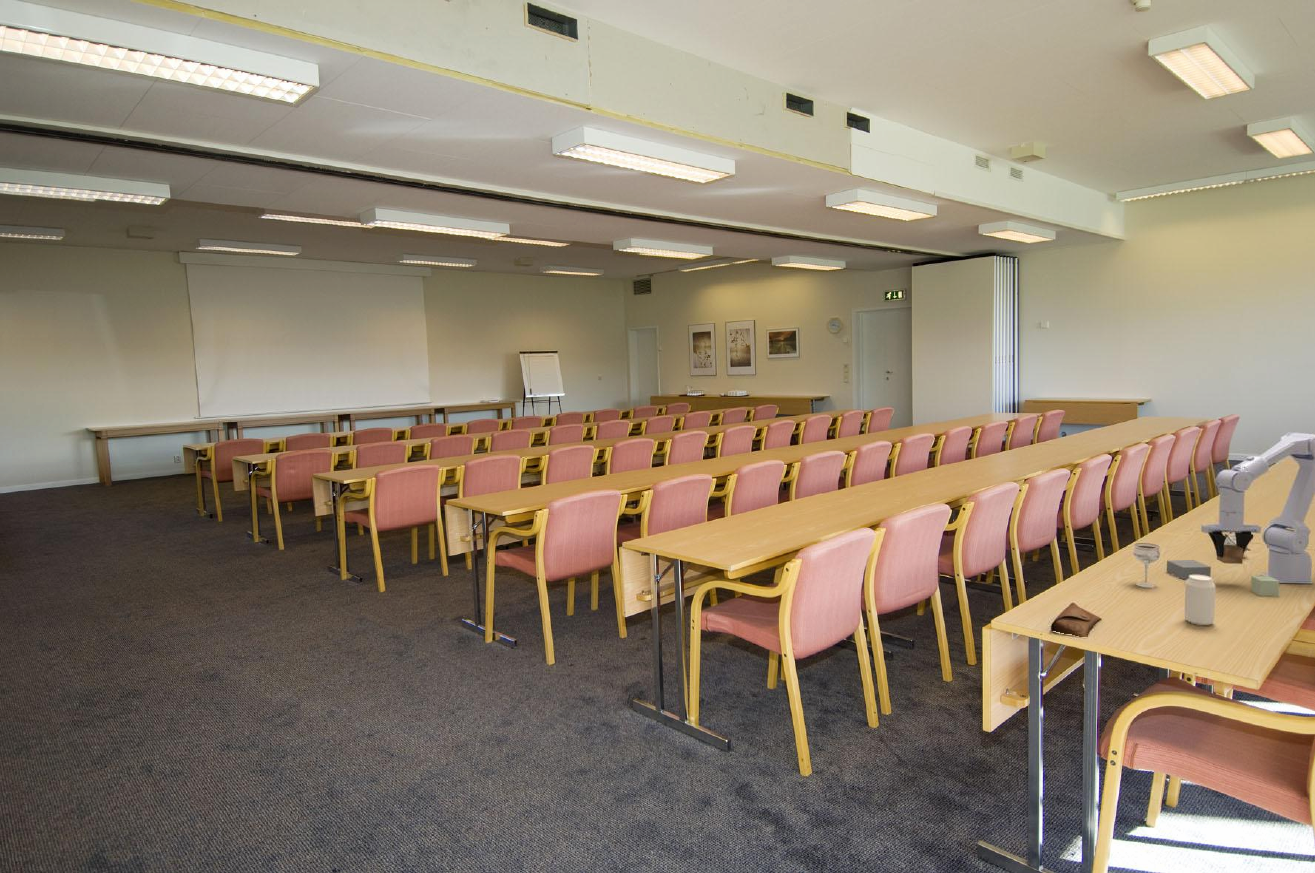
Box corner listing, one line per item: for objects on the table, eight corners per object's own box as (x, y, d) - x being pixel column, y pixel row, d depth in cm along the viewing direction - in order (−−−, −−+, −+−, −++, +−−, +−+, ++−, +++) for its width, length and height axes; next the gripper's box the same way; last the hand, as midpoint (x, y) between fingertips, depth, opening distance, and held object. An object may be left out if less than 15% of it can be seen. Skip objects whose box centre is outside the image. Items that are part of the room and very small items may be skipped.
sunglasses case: (1088, 639, 187) (1073, 613, 188) (1060, 647, 191) (1046, 623, 192) (1103, 618, 200) (1089, 595, 202) (1077, 626, 204) (1063, 604, 206)
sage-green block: (1268, 591, 216) (1269, 576, 215) (1278, 596, 212) (1279, 580, 211) (1251, 591, 217) (1251, 575, 216) (1260, 596, 212) (1260, 580, 212)
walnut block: (1233, 559, 224) (1234, 544, 224) (1242, 563, 220) (1243, 548, 219) (1216, 559, 225) (1217, 544, 225) (1224, 563, 221) (1225, 548, 220)
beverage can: (1181, 623, 195) (1183, 577, 193) (1187, 616, 199) (1188, 572, 198) (1211, 628, 190) (1212, 582, 189) (1216, 621, 194) (1217, 576, 193)
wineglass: (1135, 587, 224) (1136, 547, 223) (1130, 580, 230) (1131, 542, 229) (1161, 589, 221) (1163, 549, 220) (1156, 582, 228) (1157, 543, 226)
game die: (1229, 568, 250) (1213, 546, 249) (1222, 553, 257) (1206, 531, 256) (1259, 558, 245) (1244, 535, 244) (1251, 543, 252) (1236, 521, 251)
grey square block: (1193, 572, 237) (1193, 559, 237) (1210, 579, 229) (1210, 566, 229) (1166, 572, 237) (1167, 560, 237) (1182, 580, 229) (1183, 567, 229)
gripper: (1251, 508, 223) (1249, 553, 225) (1196, 508, 226) (1195, 552, 228) (1265, 513, 216) (1263, 559, 218) (1208, 513, 219) (1207, 558, 221)
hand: (1229, 556), depth 222 cm, fingers closed on walnut block, 4 cm apart
